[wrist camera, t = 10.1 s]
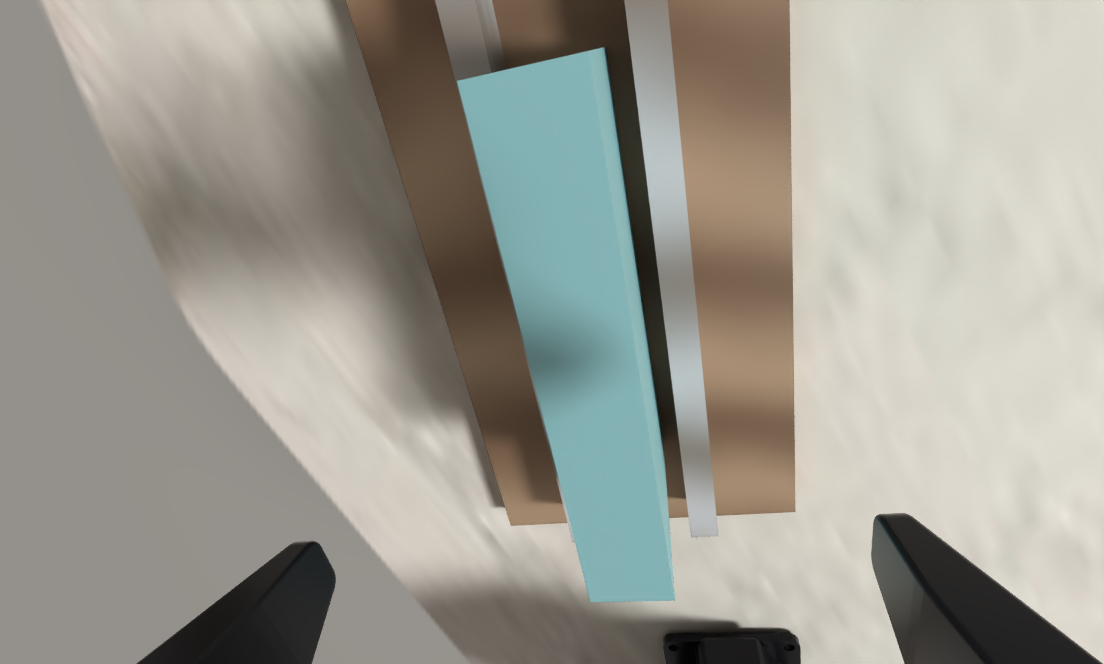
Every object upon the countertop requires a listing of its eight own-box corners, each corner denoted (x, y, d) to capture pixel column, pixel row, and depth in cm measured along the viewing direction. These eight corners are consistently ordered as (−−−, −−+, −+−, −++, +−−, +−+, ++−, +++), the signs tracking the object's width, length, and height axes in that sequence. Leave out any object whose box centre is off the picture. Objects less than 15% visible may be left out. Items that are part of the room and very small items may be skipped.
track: (789, 494, 23) (809, 551, 21) (515, 509, 26) (501, 562, 23) (777, -174, 14) (811, -224, 11) (344, -49, 16) (289, -67, 14)
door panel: (663, 441, 22) (675, 600, 16) (602, 446, 22) (590, 602, 16) (606, 46, 16) (588, 50, 10) (524, 65, 16) (456, 81, 10)
